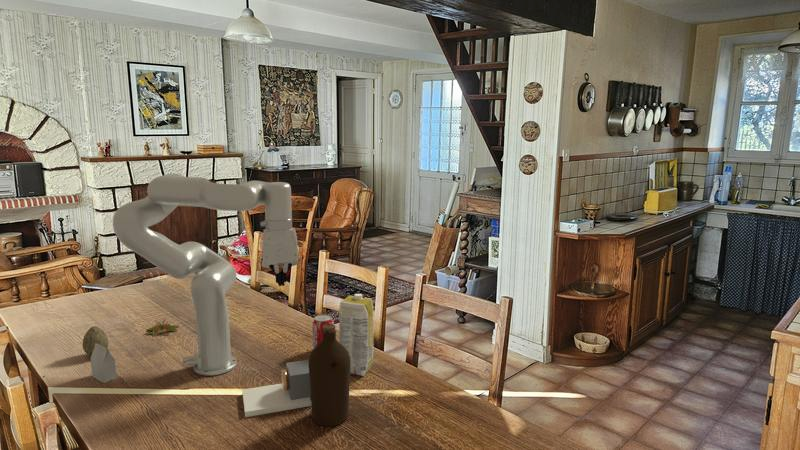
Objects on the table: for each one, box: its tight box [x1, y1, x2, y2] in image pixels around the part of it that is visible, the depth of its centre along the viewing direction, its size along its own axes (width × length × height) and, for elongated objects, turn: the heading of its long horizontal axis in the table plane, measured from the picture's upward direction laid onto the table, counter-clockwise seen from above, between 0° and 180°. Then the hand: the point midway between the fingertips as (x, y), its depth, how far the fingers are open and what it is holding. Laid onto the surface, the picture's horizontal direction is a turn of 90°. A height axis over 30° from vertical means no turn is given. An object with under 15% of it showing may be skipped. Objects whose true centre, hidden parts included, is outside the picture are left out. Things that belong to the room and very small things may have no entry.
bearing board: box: [242, 359, 312, 418], centre depth 143 cm, size 27×12×9 cm, turn 110°
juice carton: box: [338, 293, 374, 377], centre depth 158 cm, size 9×8×24 cm
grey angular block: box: [90, 343, 118, 384], centre depth 153 cm, size 4×7×10 cm, turn 55°
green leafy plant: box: [143, 319, 179, 337], centre depth 188 cm, size 12×12×5 cm
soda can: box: [312, 313, 335, 350], centre depth 171 cm, size 7×7×12 cm
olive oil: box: [308, 323, 351, 427], centre depth 132 cm, size 11×11×25 cm
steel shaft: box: [281, 369, 289, 391], centre depth 144 cm, size 14×6×6 cm, turn 110°
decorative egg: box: [82, 326, 109, 357], centre depth 167 cm, size 7×7×10 cm
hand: (281, 284), depth 155 cm, fingers closed
